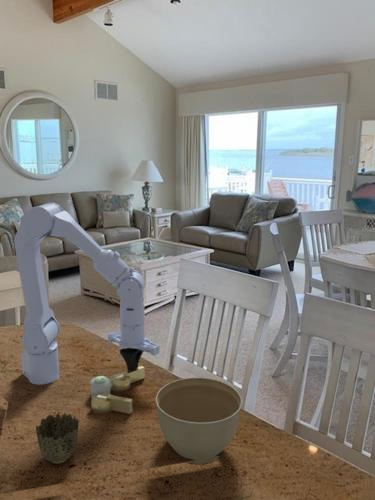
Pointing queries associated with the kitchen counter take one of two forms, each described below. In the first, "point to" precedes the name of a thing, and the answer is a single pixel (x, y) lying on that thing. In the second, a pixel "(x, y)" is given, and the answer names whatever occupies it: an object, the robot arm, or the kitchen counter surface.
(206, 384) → the planter bowl
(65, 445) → the cup
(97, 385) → the plate
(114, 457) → the kitchen counter surface
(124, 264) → the robot arm
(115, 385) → the back knob
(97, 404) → the front knob
